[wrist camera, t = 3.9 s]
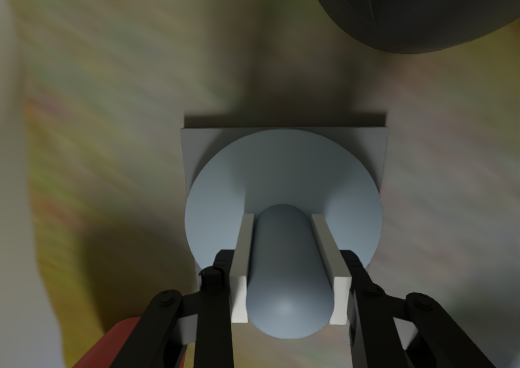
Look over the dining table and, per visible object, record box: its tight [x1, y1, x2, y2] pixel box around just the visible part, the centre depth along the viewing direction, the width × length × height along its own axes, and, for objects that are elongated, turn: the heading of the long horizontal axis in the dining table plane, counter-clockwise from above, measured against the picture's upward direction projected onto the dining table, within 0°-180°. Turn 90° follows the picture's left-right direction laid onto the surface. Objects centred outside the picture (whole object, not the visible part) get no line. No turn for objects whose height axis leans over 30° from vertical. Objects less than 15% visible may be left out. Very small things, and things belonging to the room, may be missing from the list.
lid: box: [185, 128, 383, 339], centre depth 15 cm, size 14×14×8 cm
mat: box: [180, 126, 389, 291], centre depth 20 cm, size 14×14×1 cm
